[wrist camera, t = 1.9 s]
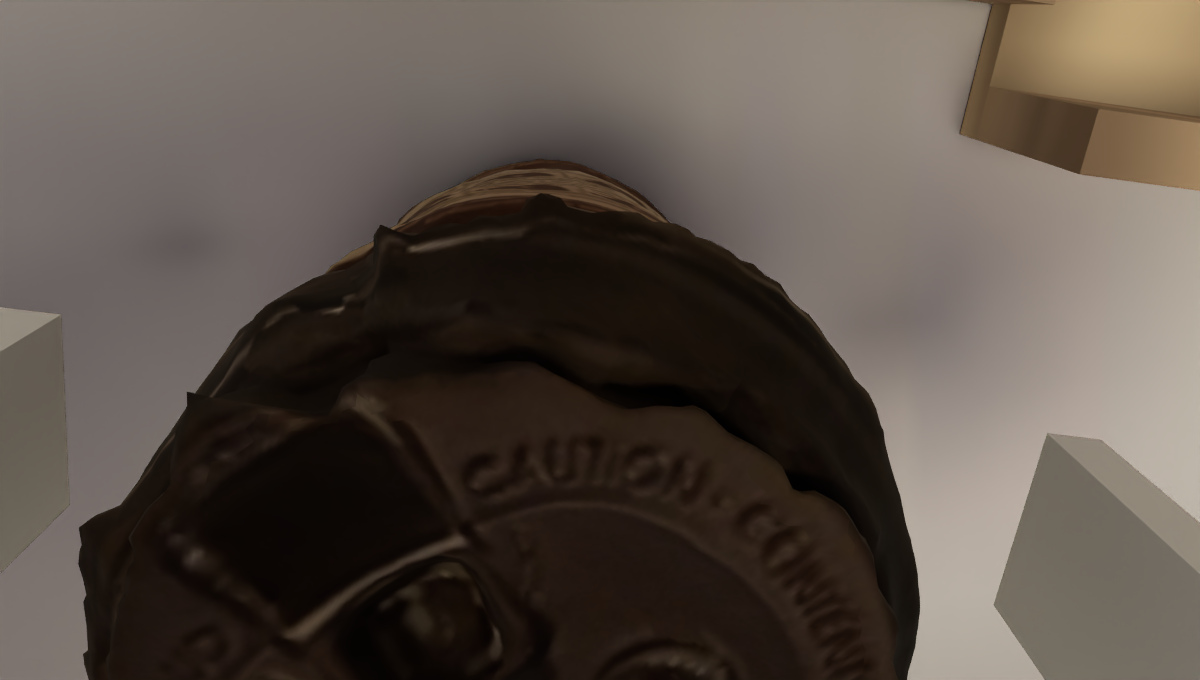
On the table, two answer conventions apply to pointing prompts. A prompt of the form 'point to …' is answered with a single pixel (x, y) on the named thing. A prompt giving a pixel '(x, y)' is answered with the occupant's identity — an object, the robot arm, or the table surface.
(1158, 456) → the table surface
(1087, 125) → the wooden stepped block
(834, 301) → the table surface
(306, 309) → the coffee cup
